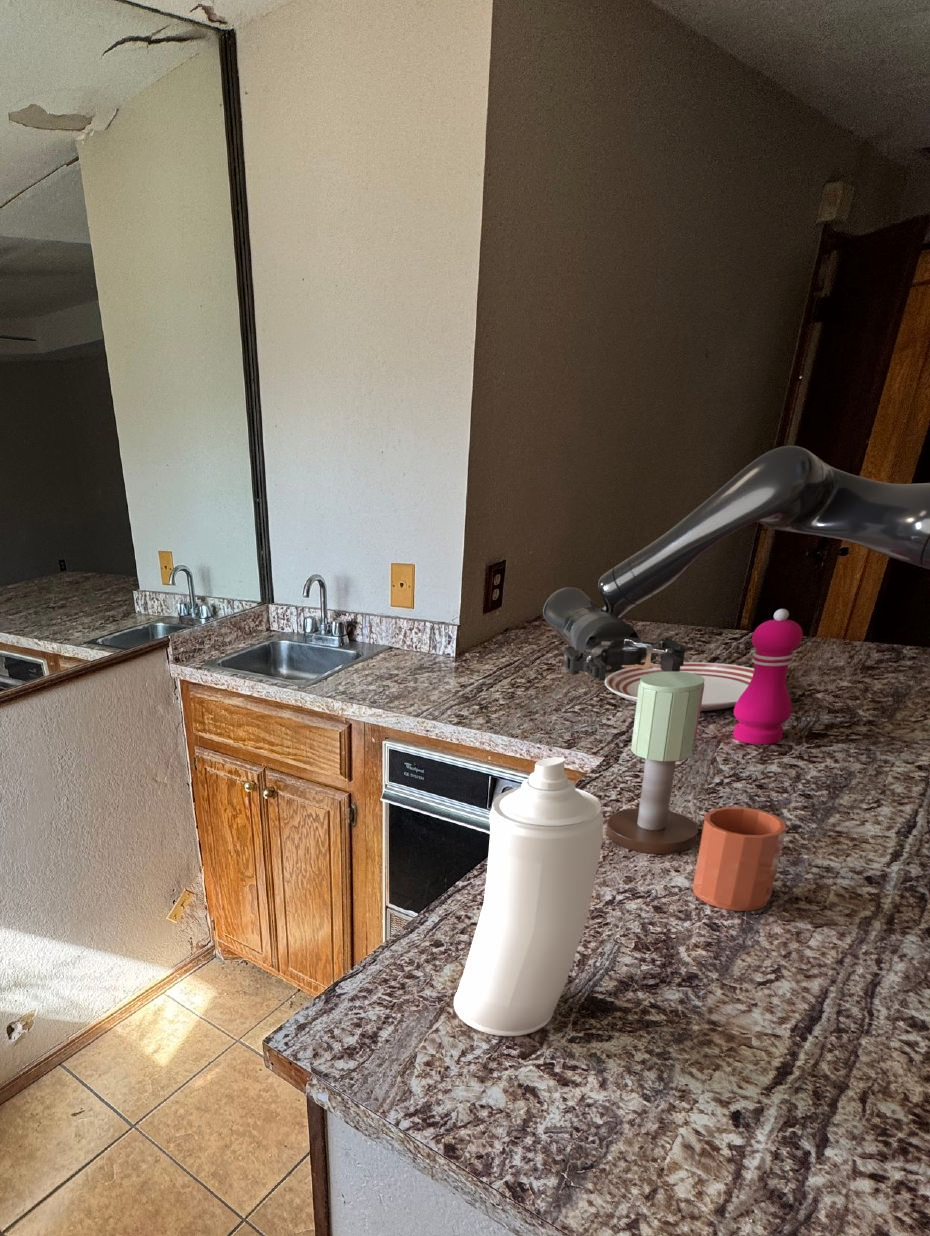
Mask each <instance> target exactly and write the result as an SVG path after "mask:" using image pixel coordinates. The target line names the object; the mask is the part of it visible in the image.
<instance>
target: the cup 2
mask: <svg viewBox="0 0 930 1236" xmlns="http://www.w3.org/2000/svg"><path fill="white" fill-rule="evenodd" d="M786 831H787V827H786V822H785V821H784V820H783V819H781V818H780V817H779V816H778V815H776V814H773V813H770V812H768V811H765V810H763V809H757V808H750V807H745V806H724V807H718V808H713V809H711V810H710V811H708V812H706V813H705V814H704V818H703V824H702V829H701V834H700V841H699V847H698V852H697V856H696V857H697V858H696V864H695V869H694V875H693V883H692V892H693V894H694V895H695V896H696V897H697V899H699V900H701V902H704V903H705V904H708V905H710V906H713V907H716V908H719V909H723V910H727V911H736V912H750V911H757V910H760V909H763V908H764V907H766V906H767V904H769V901H770V899H771V898H772V897H771V896H772V892H773V889H774V888H773V887H774V883H775V879H776V875H777V870H778V865H779V862H780V857H781V853H782V848H783V845H784V841H785V835H786Z"/></svg>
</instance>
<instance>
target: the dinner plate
mask: <svg viewBox="0 0 930 1236" xmlns="http://www.w3.org/2000/svg"><path fill="white" fill-rule="evenodd" d="M656 672H664V671H663V670H662V669H661V668H656V667H653V668H650V669H641V668H635V667H630V668H623V669H622V670H619V671H617V672H613V673H610V674H609V675H608V676H607V677H605V681H604V685H605V687H606V688H607V689H608V690H609V691H610V692H612V693H614V694H615V695H617V696H619V697H621V698H622V699H623V698H624V699H626V700H629V701H631V702H634V703H637V696H638V687H639V684H640V679H641V677H643V676H644V675H647V674H651V673H656ZM679 672H687V673H693V674H697V675H699V676H701V677H703V678H704V691H703V698H702V704H701V710H700V712H708V711H719V710H724V709H729V708H733V707H734V708H735V705H736V703H737V701H738V699H739V697H740V696H741V695H742V693H743V692H744V691H745V690H746V688H747V687H748V685H749V684H750V682H751V679H752V676H753V673H754V667H749V666H743V665H738V664H729V663H721V662H719V663H718V662H702V661H701V662H700V661H699V662H695V661H693V662H692V661H691V662H689V661H688V662H687V661H684V665H683V666H680V671H679Z"/></svg>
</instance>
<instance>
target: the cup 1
mask: <svg viewBox="0 0 930 1236" xmlns="http://www.w3.org/2000/svg"><path fill="white" fill-rule="evenodd" d="M703 691H704V678H703V677H701V676H699V675H697V674H693V673H687V672H674V671H669V672H656V673H651V674H647V675H644V676H643V677H641V679H640V684H639V687H638V696H637V702H636V705H635V713H634V722H633V729H632V738H631V747H630V751H631V752H632V754H634V756H636V757H639V758H642V759H644V760H646V759H648V760H656V761H676V762H677V761H682V760H685V759H688V758H691V757H692V756H693V754H694V753H695V748H696V747H695V746H696V741H697V735H698V728H699V721H700V716H701V711H700V710H701V704H702V698H703Z"/></svg>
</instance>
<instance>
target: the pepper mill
mask: <svg viewBox="0 0 930 1236" xmlns="http://www.w3.org/2000/svg"><path fill="white" fill-rule="evenodd" d="M789 617H790V613H789V611H788V610H787V609H786V608H779V609H777V610H776V611H775V612H774V614H773V619H769V620H767V621H764V622H762V623H760V625H758V626H757V627H756V628H755V629H754V631H753V634H752V635H751V645H752V647H753V648H754V649H755V650H756V651H754V652H753V653H752V656H753V657H752V658H751V662H752V663H753V664H754V667H753V668H754V673H753V676H752V679H751V682H750V684H749V685H748V687H747V688H746V690H745V691H744V692H743V693H742V695H741V696H740V697H739V699H738V701H737V703H736V705H735V706H734V708H733V715H734V717H735V719H736V720H737V721H738V723H736V724H734V728H733V733H732V737H733V738H734V739H735V740H737V741H739V742H742V743H746V744H751V745H772V744H777V743H779V742H780V741H782V739H783V736H784V735H783V734H784V730H785V729H784V727H783V726H782V725H783V724H784V723H785V722H787V721H788V720H790V718H791V715H792V708H793V705H792V699H791V697H790V693H789V690H788V687H787V673H788V672H787V671H788V668H789V665H791V664H793V663H794V657H795V652H793V651H794V650H795V649H796V648H797V647H799V646H800V644H801V643H802V640H803V636H804V635H803V633H804V632H803V629H802V627H801V625H800V624H799V623H798V622H796V621H794V620H791V619H788V618H789Z"/></svg>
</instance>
